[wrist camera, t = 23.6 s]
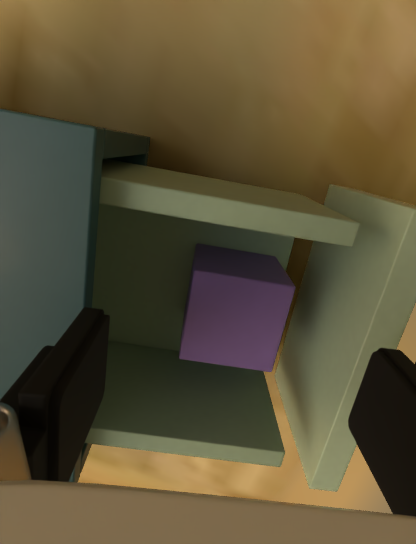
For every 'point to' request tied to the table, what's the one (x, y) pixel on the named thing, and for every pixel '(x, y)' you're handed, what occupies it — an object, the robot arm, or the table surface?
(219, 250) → the purple rounded cube
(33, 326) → the small teal cabinet
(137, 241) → the drawer
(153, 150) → the table surface
